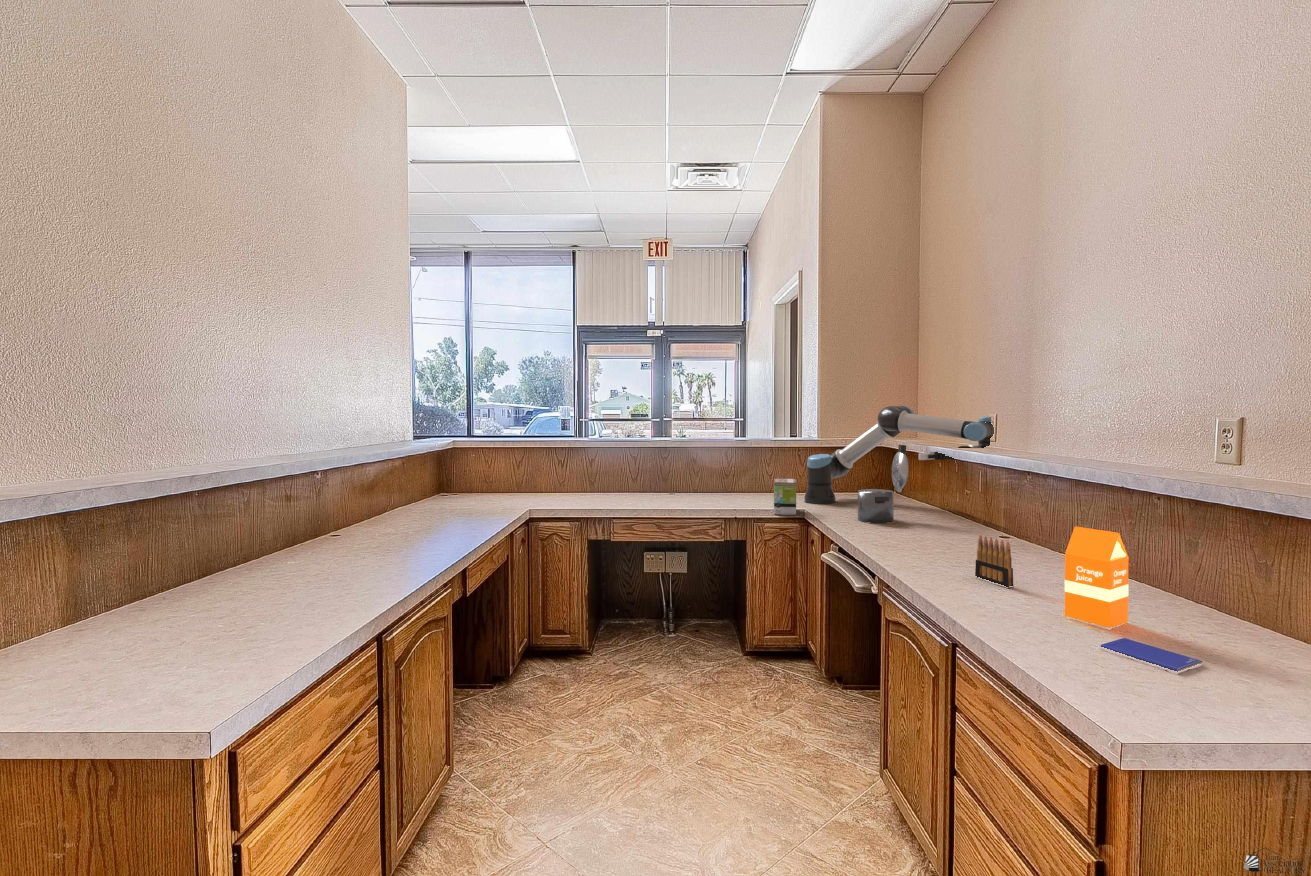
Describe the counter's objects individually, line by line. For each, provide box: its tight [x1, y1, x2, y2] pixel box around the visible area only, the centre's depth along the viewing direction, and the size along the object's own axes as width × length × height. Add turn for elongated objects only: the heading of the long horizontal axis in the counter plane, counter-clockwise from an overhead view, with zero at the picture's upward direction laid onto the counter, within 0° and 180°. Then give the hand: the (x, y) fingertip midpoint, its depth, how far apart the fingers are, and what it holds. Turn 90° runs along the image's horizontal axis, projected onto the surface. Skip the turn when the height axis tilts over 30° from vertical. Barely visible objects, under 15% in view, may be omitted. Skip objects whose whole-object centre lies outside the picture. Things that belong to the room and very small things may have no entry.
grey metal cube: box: [857, 488, 895, 524], centre depth 249 cm, size 18×14×12 cm
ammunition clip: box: [974, 534, 1014, 587], centre depth 159 cm, size 11×2×12 cm, turn 17°
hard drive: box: [1100, 637, 1204, 672], centre depth 111 cm, size 2×8×12 cm
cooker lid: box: [891, 444, 910, 493], centre depth 248 cm, size 15×19×3 cm
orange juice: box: [1064, 526, 1130, 628], centre depth 130 cm, size 8×9×20 cm
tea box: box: [773, 478, 797, 516], centre depth 274 cm, size 15×10×15 cm, turn 168°
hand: (919, 456), depth 249 cm, fingers closed
